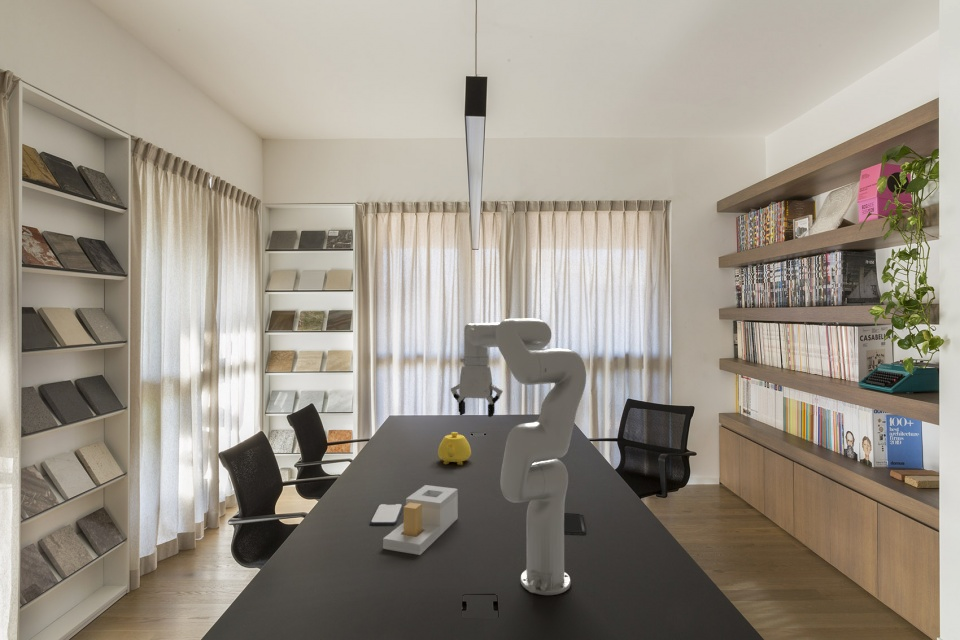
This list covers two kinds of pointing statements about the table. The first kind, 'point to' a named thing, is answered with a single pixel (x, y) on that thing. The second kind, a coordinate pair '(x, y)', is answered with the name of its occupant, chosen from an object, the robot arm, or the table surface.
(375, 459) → the table surface
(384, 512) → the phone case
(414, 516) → the plug
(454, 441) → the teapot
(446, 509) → the white stepped socket block
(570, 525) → the phone
